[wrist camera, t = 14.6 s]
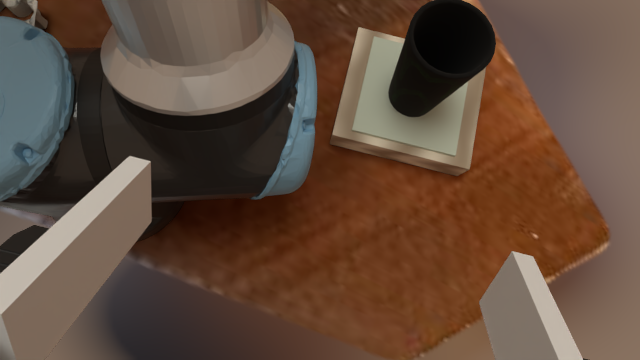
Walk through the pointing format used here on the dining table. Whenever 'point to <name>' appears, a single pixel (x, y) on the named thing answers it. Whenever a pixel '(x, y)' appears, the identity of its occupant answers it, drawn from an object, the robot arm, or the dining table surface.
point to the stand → (391, 126)
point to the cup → (440, 55)
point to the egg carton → (25, 11)
